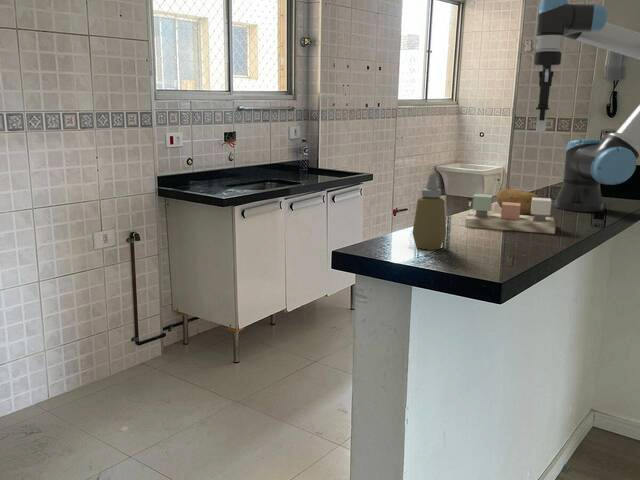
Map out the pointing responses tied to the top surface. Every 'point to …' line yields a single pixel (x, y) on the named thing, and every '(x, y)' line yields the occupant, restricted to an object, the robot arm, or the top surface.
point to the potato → (517, 199)
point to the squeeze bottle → (430, 217)
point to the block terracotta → (510, 210)
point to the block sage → (482, 204)
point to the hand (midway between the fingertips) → (540, 131)
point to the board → (510, 223)
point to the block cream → (540, 208)
